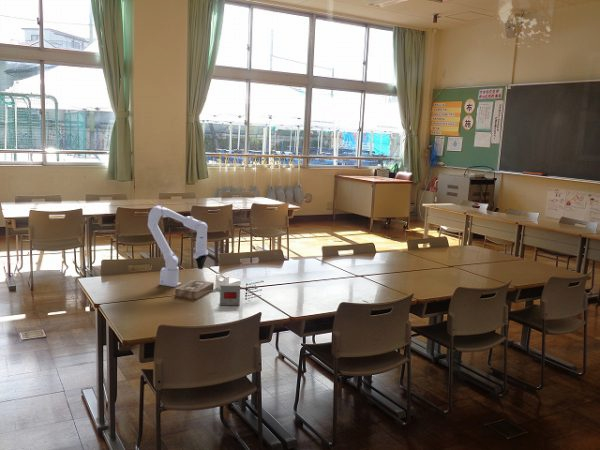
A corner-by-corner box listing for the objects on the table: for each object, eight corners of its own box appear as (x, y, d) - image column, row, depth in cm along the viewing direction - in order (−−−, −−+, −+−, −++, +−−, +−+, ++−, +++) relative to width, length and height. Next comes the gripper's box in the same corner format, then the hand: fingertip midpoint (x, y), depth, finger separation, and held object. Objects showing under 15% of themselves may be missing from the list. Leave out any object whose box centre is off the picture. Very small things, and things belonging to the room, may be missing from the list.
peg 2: (193, 290, 297) (194, 283, 296) (197, 288, 301) (197, 281, 300) (200, 291, 296) (201, 284, 295) (204, 289, 300) (204, 282, 299)
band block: (175, 296, 286) (175, 288, 285) (193, 286, 305) (193, 279, 304) (196, 299, 282) (196, 291, 282) (213, 289, 302) (213, 282, 301)
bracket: (225, 290, 302) (226, 277, 301) (215, 288, 306) (215, 274, 304) (240, 286, 313) (241, 273, 312) (230, 283, 317) (231, 270, 315)
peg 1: (185, 295, 287) (185, 288, 287) (188, 293, 291) (189, 286, 291) (192, 296, 286) (192, 289, 286) (195, 294, 290) (196, 287, 290)
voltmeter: (227, 309, 271) (228, 289, 270) (212, 303, 279) (213, 284, 277) (266, 299, 291) (267, 281, 289) (251, 294, 298) (252, 276, 297)
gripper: (202, 247, 296) (201, 272, 298) (213, 243, 310) (212, 266, 312) (190, 246, 298) (189, 270, 300) (202, 241, 312) (201, 265, 314)
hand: (200, 268), depth 306 cm, fingers closed
